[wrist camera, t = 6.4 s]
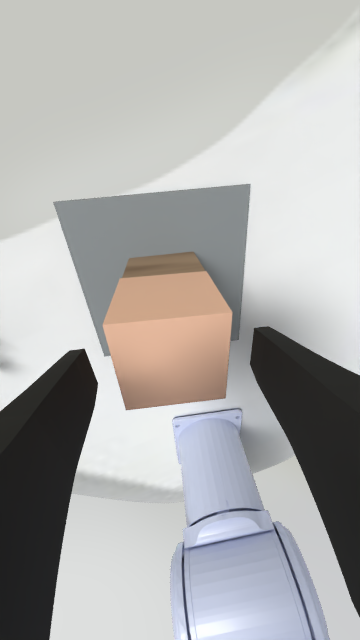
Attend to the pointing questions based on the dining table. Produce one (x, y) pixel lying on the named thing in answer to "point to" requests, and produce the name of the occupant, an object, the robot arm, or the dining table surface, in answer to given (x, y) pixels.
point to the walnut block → (162, 265)
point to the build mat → (157, 240)
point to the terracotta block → (169, 339)
